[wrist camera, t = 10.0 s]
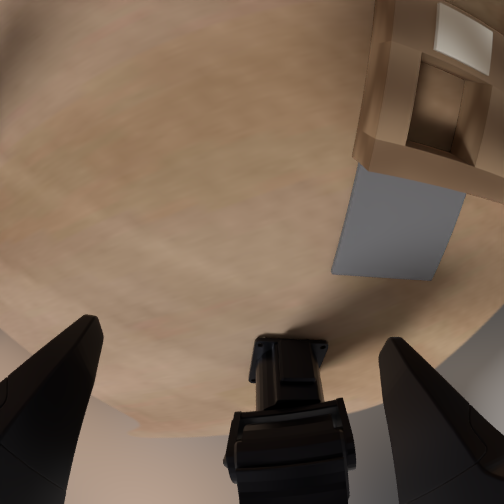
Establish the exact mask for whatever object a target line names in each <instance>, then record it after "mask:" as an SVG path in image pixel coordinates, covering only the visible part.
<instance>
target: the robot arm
mask: <svg viewBox="0 0 504 504" xmlns="http://www.w3.org/2000/svg"><path fill="white" fill-rule="evenodd" d="M103 339H104V336H103V332H102V329H101V325H100V322H99V319H98V317H97V316H94V315H88V314H86V315H83V316H82V317H81V318H79V319H78V320H77V321H75V322H74V323H73V324H71V325H70V326H69V327H68V328H66V329H65V330H64V331H63V332H61V333H60V334H59V335H57V336H56V337H55V338H54V339H52V340H51V341H50V342H49V343H47V344H46V345H45V346H44V347H42V348H41V349H40V350H39V351H37V352H36V353H35V354H34V355H33V356H31V357H30V358H29V359H28V360H26V361H25V362H24V363H23V364H22V365H20V366H19V367H18V368H17V369H16V370H14V371H13V372H12V373H11V374H10V375H8V378H7V377H6V378H5V379H4V380H2V381H1V382H0V504H64V501H65V496H66V489H67V485H68V480H69V475H70V471H71V466H72V462H73V457H74V453H75V449H76V445H77V441H78V437H79V434H80V430H81V426H82V423H83V419H84V415H85V412H86V409H87V405H88V402H89V398H90V395H91V392H92V389H93V385H94V382H95V377H96V372H97V367H98V363H99V358H100V353H101V349H102V345H103ZM327 349H328V342H327V341H325V340H297V339H275V338H257V339H256V340H255V342H254V348H253V354H252V360H251V366H250V372H249V382H251V383H256V411H252V412H241V411H240V412H235V413H234V418H233V420H232V422H231V428H230V433H229V438H228V444H227V449H226V454H225V457H224V459H223V464H224V466H225V467H227V468H228V470H229V475H230V478H231V480H232V482H233V483H235V484H237V486H238V494H239V503H240V504H348V498H349V482H348V471H352V470H355V469H356V453H355V446H354V439H353V434H352V430H351V426H350V423H349V419H348V415H347V411H346V408H345V404H344V401H343V397H342V398H337V399H336V400H332V401H327V402H324V396H323V390H322V384H321V378H320V372H319V368H320V366H321V364H322V361H323V359H324V357H325V354H326V352H327ZM379 368H380V377H381V387H382V397H383V403H384V409H385V414H386V419H387V424H388V430H389V435H390V441H391V447H392V453H393V460H394V467H395V474H396V480H397V489H398V497H399V504H504V435H503V434H501V433H500V432H499V431H498V430H496V428H494V427H493V426H492V425H491V424H490V423H489V422H488V421H487V420H486V419H484V417H483V416H482V415H480V414H479V413H478V412H477V411H476V410H475V409H474V408H473V407H472V406H471V405H469V403H468V402H467V401H466V400H465V399H464V398H463V397H462V396H461V395H460V394H459V393H458V392H457V391H456V390H455V389H454V388H453V387H452V386H451V385H450V384H449V383H448V382H447V381H446V380H445V379H444V378H443V377H442V376H441V375H440V374H439V373H438V372H437V371H436V370H435V369H434V368H433V367H432V366H431V365H430V364H429V363H428V362H427V361H426V360H425V359H424V358H423V357H422V356H420V355H419V354H418V353H417V352H416V351H415V350H414V349H413V348H412V347H411V346H410V345H409V344H408V343H407V342H406V341H405V340H404V339H402V338H401V337H390V338H388V339H387V341H386V343H385V345H384V346H383V348H382V350H381V352H380V354H379Z"/></svg>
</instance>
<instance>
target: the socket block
mask: <svg viewBox="0 0 504 504" xmlns="http://www.w3.org/2000/svg"><path fill="white" fill-rule="evenodd" d="M420 62H424V63H427V64H429V65H432V66H434V67H436V68H439V69H441V70H444V71H446V72H448V73H450V74H453V75H455V76H457V77H459V78H461V79H463V80H465V83H464V89H463V95H462V101H461V106H460V112H459V117H458V121H457V126H456V131H455V135H454V139H453V143H452V147H451V151H450V153H449V152H446V151H443V150H440V149H437V148H433V147H430V146H427V145H423V144H420V143H416V142H412V141H409V140H407V135H408V130H409V126H410V121H411V116H412V111H413V105H414V100H415V94H416V88H417V82H418V76H419V69H420ZM352 157H353V158H354V159H356V160H357V161H358V162H359V163H360V164H361V165H362V166H363V167H364V168H365V169H366V170H367V171H369V172H374V173H380V174H385V175H390V176H395V177H400V178H404V179H409V180H414V181H418V182H422V183H427V184H431V185H435V186H439V187H443V188H447V189H451V190H455V191H459V192H463V193H466V194H470V195H474V196H477V197H481V198H484V199H488V200H491V201H494V202H498V203H501V204H504V35H502V34H501V33H499V32H498V31H496V30H495V29H493V28H491V27H490V26H488V25H487V24H485V23H484V22H482V21H480V20H479V19H477V18H475V17H474V16H472V15H470V14H468V13H467V12H465V11H463V10H461V9H459V8H458V7H456V6H454V5H452V4H450V3H448V2H446V1H444V0H375V9H374V19H373V29H372V37H371V46H370V53H369V61H368V68H367V75H366V81H365V88H364V94H363V100H362V106H361V112H360V117H359V123H358V128H357V133H356V139H355V144H354V149H353V154H352Z"/></svg>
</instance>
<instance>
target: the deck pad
mask: <svg viewBox="0 0 504 504" xmlns="http://www.w3.org/2000/svg"><path fill="white" fill-rule="evenodd" d="M465 196H466V193H463V192H459V191H455V190H451V189H447V188H443V187H439V186H435V185H431V184H427V183H422V182H418V181H414V180H409V179H404V178H400V177H395V176H390V175H385V174H380V173H374V172H369V171H367V170H366V169H365V168H364V167H363V166H362V165H361V164H360V163H359V162H358V167H357V171H356V176H355V180H354V184H353V189H352V193H351V197H350V201H349V205H348V209H347V213H346V217H345V221H344V225H343V229H342V233H341V236H340V240H339V244H338V248H337V251H336V255H335V258H334V262H333V265H332V269H331V273H332V274H336V275H350V276H365V277H380V278H395V279H411V280H428V281H432V278H433V276H434V274H435V272H436V270H437V267H438V265H439V263H440V261H441V258H442V256H443V254H444V251H445V249H446V247H447V244H448V242H449V239H450V237H451V234H452V232H453V229H454V226H455V224H456V221H457V218H458V216H459V213H460V210H461V207H462V204H463V201H464V199H465Z"/></svg>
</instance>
